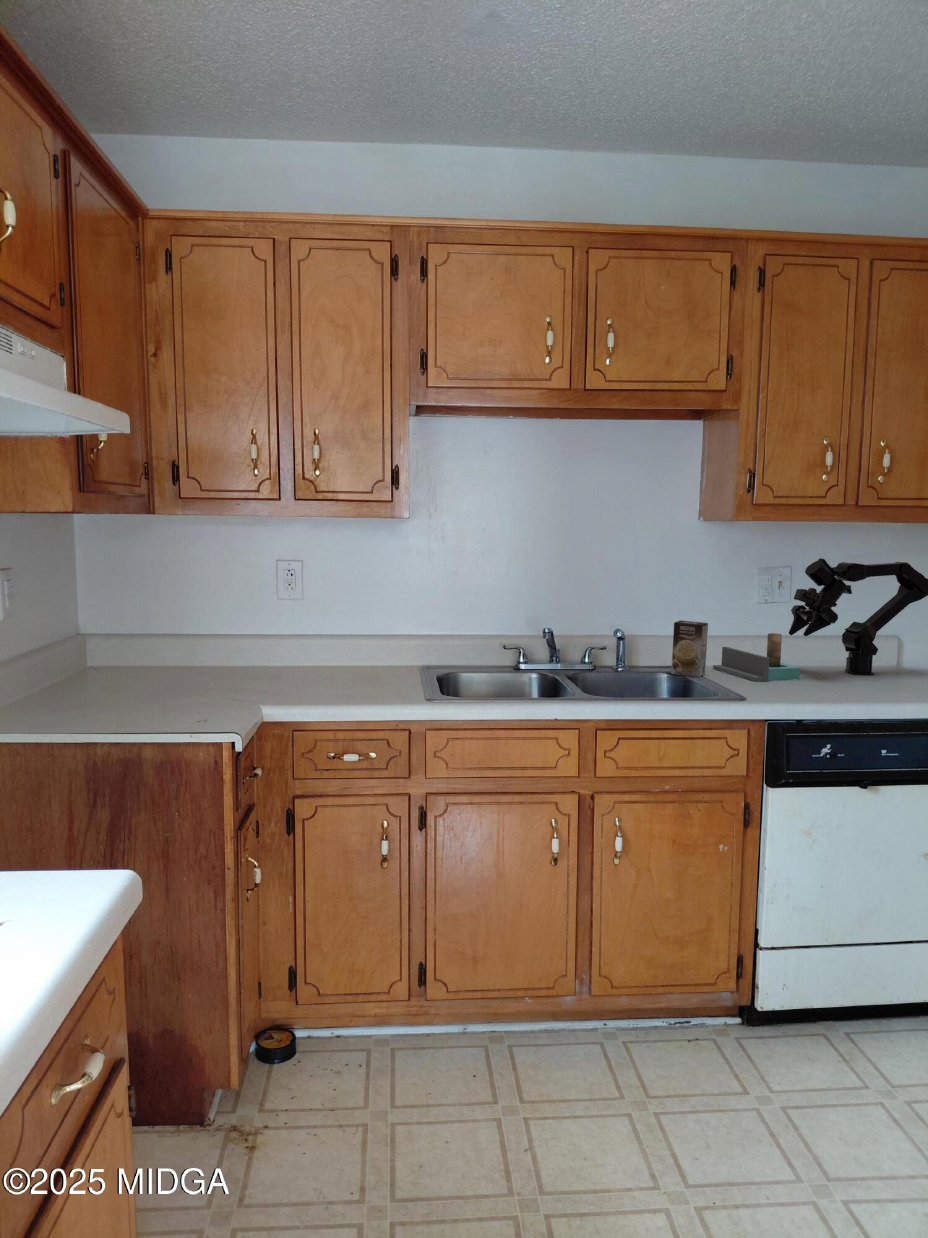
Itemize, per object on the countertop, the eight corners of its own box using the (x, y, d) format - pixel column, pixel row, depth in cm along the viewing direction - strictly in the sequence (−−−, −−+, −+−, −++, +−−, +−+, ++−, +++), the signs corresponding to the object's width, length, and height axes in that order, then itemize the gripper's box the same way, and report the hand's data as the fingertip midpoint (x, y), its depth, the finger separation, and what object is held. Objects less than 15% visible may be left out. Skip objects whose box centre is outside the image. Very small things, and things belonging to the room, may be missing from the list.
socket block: (776, 674, 269) (777, 661, 269) (799, 681, 259) (800, 667, 258) (745, 675, 266) (746, 663, 266) (768, 682, 256) (768, 669, 255)
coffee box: (670, 674, 264) (672, 622, 263) (677, 671, 270) (679, 620, 268) (700, 677, 260) (702, 624, 258) (706, 674, 265) (708, 622, 263)
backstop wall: (725, 668, 276) (726, 646, 275) (768, 681, 255) (769, 657, 254) (713, 668, 275) (714, 647, 274) (754, 681, 254) (755, 658, 253)
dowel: (779, 674, 264) (782, 633, 262) (779, 676, 260) (781, 635, 258) (766, 673, 265) (768, 632, 263) (765, 675, 261) (767, 634, 260)
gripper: (794, 579, 274) (764, 617, 273) (825, 577, 256) (792, 618, 255) (820, 602, 275) (789, 640, 274) (852, 602, 257) (819, 642, 256)
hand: (797, 634), depth 265 cm, fingers open, 9 cm apart
